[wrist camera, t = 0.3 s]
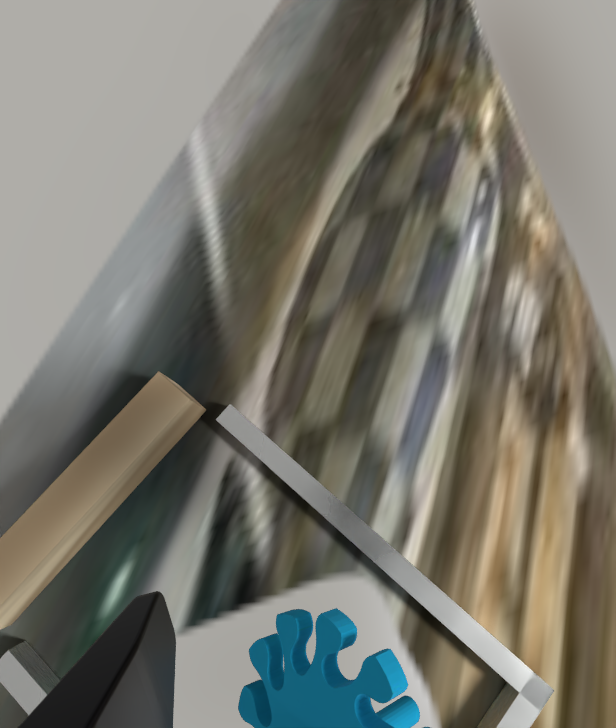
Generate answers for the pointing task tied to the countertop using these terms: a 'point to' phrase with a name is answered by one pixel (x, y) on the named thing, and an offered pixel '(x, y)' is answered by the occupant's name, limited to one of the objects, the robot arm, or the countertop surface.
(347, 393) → the countertop surface
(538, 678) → the gray rectangular frame
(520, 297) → the countertop surface
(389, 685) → the gear
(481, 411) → the countertop surface
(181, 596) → the countertop surface
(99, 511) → the block
